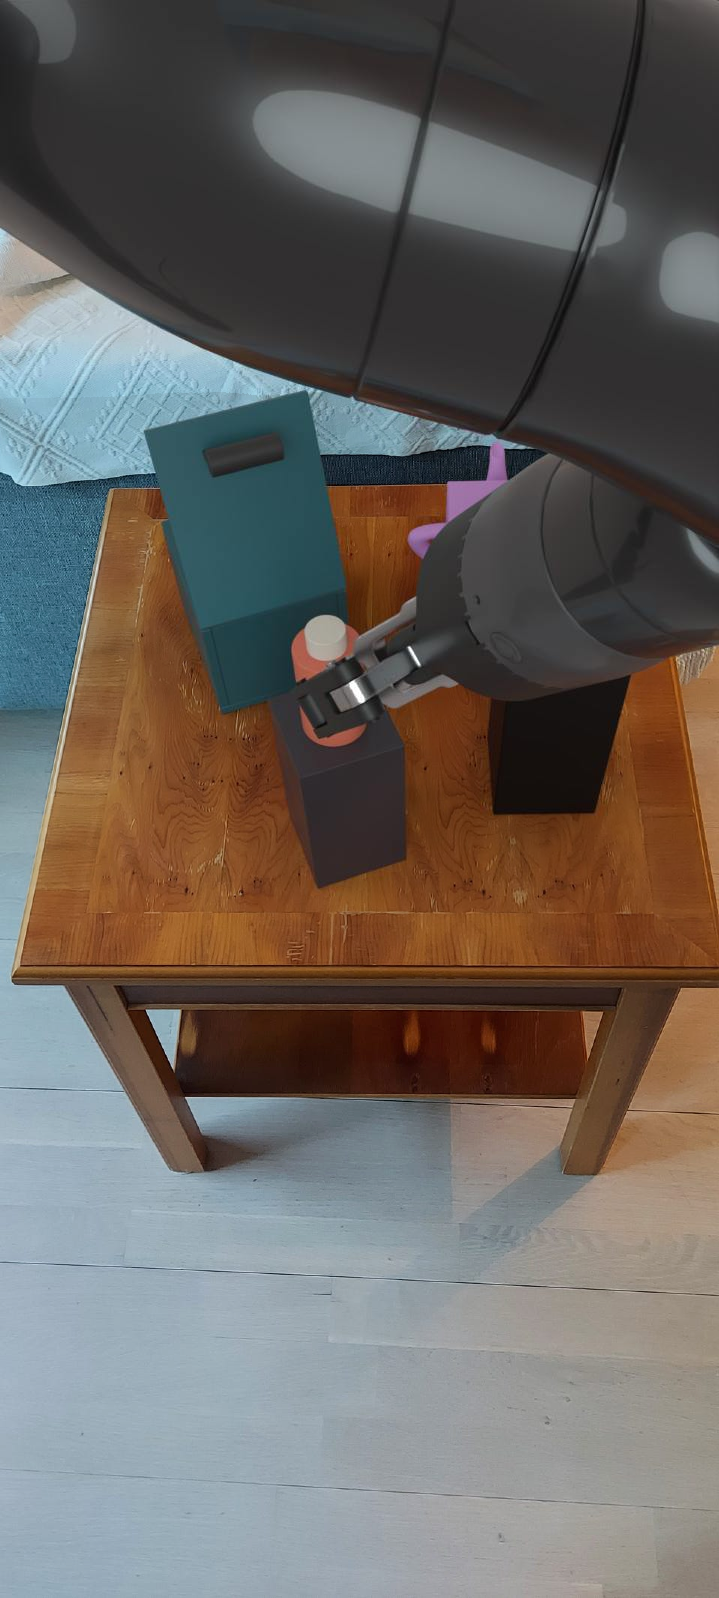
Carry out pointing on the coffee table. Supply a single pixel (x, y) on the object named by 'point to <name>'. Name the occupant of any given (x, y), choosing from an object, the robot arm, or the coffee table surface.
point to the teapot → (462, 499)
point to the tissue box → (553, 749)
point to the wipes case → (251, 642)
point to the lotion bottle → (323, 664)
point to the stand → (343, 795)
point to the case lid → (248, 507)
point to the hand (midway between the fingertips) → (395, 653)
